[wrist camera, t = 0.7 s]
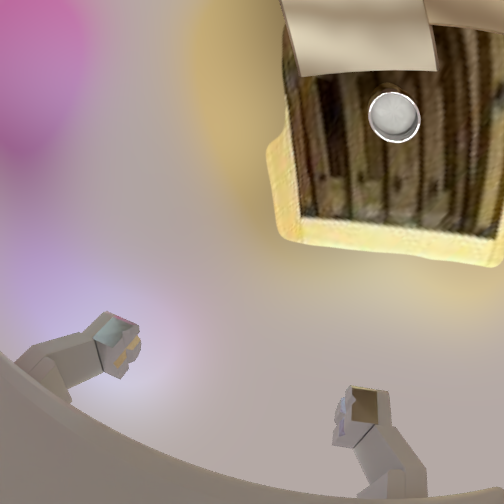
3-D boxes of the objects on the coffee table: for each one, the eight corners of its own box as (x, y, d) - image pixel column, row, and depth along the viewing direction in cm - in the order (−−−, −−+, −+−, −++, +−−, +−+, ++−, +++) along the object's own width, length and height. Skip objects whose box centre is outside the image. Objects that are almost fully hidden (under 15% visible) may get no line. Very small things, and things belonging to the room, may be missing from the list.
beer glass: (417, 96, 38) (432, 113, 27) (395, 127, 43) (402, 155, 32) (381, 72, 38) (384, 78, 27) (361, 104, 43) (356, 123, 32)
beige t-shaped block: (274, -35, 16) (267, -39, 14) (509, -31, 6) (516, -34, 5) (304, 75, 22) (300, 77, 20) (533, 84, 12) (541, 87, 11)
